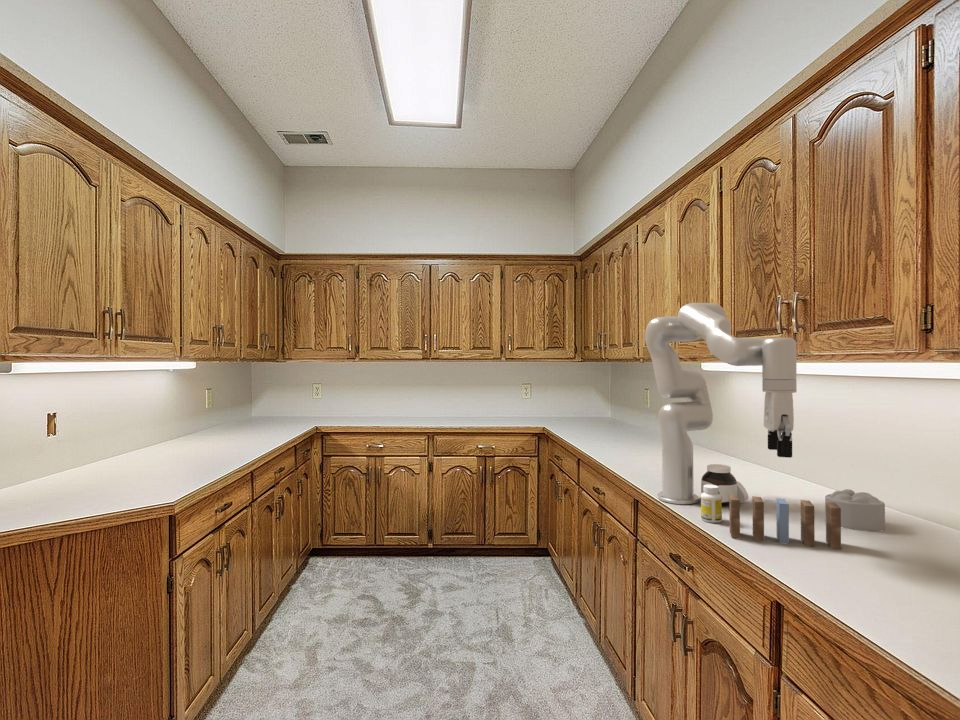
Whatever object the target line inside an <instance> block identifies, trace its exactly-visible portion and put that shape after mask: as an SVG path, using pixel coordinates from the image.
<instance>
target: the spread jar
mask: <svg viewBox="0 0 960 720" xmlns="http://www.w3.org/2000/svg"><path fill="white" fill-rule="evenodd" d="M706 470H707V471H706V472H705V473H704V474H703V475H702V476H701V480H700V491H701V492H700V493H701V494H702V493H704V490H703V486H704V485H716V486H718V487H719V492H718V494H720V495H721V499H722V507H729V495H738V497H739V500H740V504H742V503H743V504H744V503H745V502H747V501H748V500H749V493H748V491H747V490H746V488H745V486H744V485H743V484H742V483H741V482H740V481H737V479H736V477H735V476H734V474H732V473H731V466H729V465H728V464H727V465H726V464H718V463H711V464H707V465H706Z"/></svg>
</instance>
